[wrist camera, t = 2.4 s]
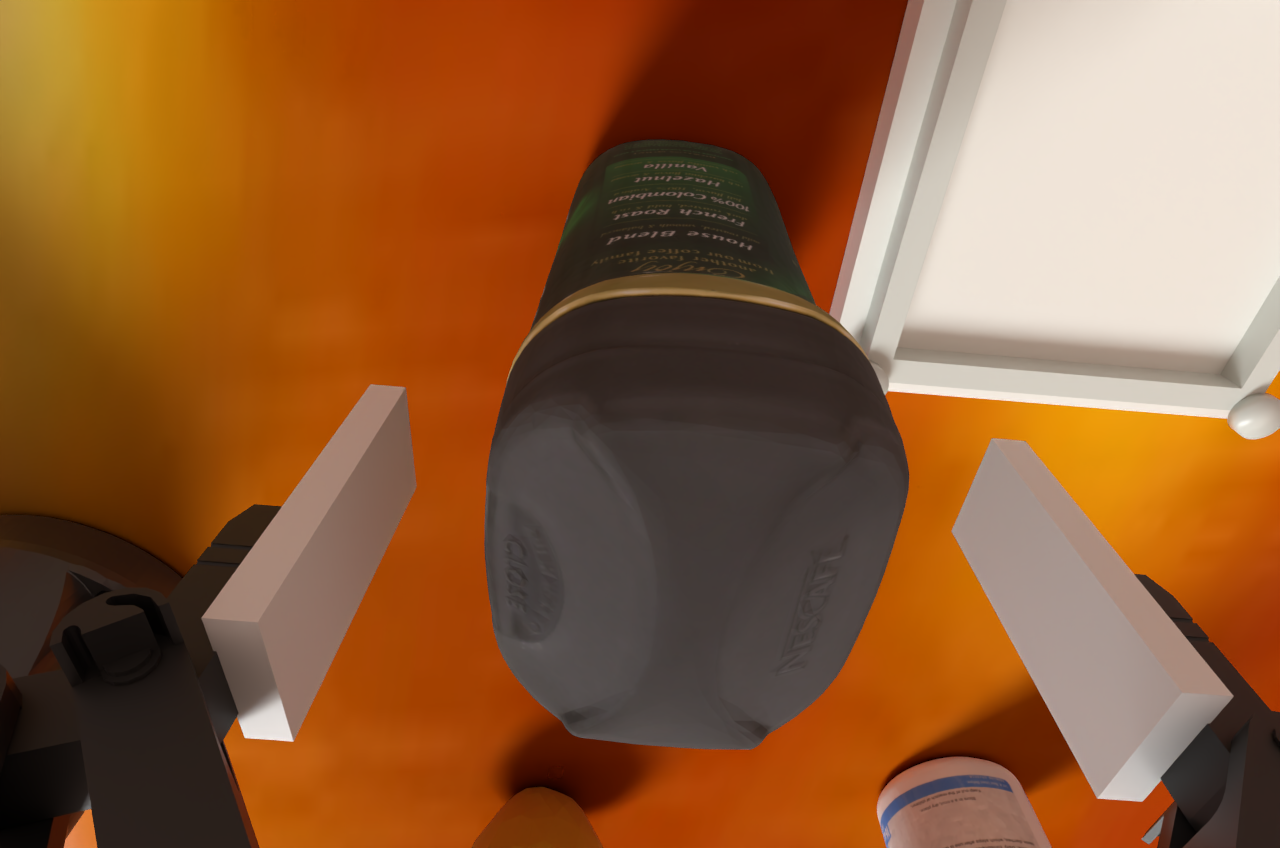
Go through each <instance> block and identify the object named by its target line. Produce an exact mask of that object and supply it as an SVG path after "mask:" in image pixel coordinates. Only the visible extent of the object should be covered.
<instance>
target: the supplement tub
mask: <svg viewBox="0 0 1280 848" xmlns="http://www.w3.org/2000/svg"><path fill="white" fill-rule="evenodd" d="M877 814H878V819H879V822H880V826H881V829H882V833H883V836H884V840H885V843H886V847H887V848H1052V847H1051V845H1050V843H1049V841H1048V839H1047V837H1046V835H1045V833H1044V831H1043V829H1042V827H1041V825H1040V822H1039V820H1038V818H1037V816H1036V814H1035V812H1034V810H1033V808H1032V806H1031V804H1030V802H1029V800H1028V798H1027V796H1026V794H1025V792H1024V790H1023V788H1022V786H1021V784H1020V783H1019V781H1018V780H1017V778H1016V777H1015V776H1014V775H1013V774H1012V773H1011V772H1010V771H1009V770H1007V769H1006V768H1004V767H1003V766H1001V765H999V764H996V763H994V762H991V761H988V760H983V759H977V758H971V757H946V758H940V759H935V760H931V761H927V762H924V763H921V764H918V765H916V766H913V767H911V768H909V769H907V770H905V771H904V772H902V773H900V774H899V775H897V776H896V777H895V778H893V779H892V780H891V781H890V782H889V783H888V784H887V785H886V786H885V788H884V789H883V791H882V792H881V794H880V796H879V799H878V803H877Z"/></svg>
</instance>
